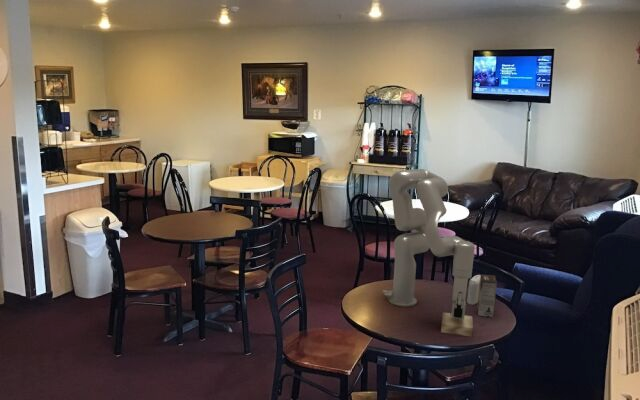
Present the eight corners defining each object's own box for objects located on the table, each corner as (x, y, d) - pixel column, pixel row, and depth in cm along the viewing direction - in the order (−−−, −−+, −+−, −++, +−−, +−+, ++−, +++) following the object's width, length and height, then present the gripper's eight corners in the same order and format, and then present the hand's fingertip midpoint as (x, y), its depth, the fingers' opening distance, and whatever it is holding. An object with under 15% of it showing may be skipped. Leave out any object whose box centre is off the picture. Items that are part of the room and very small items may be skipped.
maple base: (440, 333, 223) (441, 323, 222) (441, 321, 234) (442, 312, 233) (471, 337, 220) (472, 328, 219) (471, 325, 231) (472, 316, 231)
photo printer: (474, 305, 251) (477, 279, 249) (465, 303, 254) (468, 277, 252) (483, 299, 259) (486, 274, 257) (475, 297, 262) (477, 272, 259)
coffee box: (476, 307, 249) (480, 273, 246) (491, 309, 248) (495, 275, 245) (478, 315, 240) (481, 280, 237) (493, 317, 239) (497, 282, 236)
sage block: (451, 317, 224) (452, 303, 223) (451, 312, 229) (452, 298, 228) (464, 319, 223) (465, 305, 222) (463, 314, 228) (465, 300, 226)
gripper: (452, 264, 231) (448, 305, 235) (452, 277, 215) (447, 321, 219) (471, 266, 229) (467, 308, 233) (472, 280, 213) (467, 324, 217)
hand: (457, 314), depth 226 cm, fingers closed on sage block, 4 cm apart
